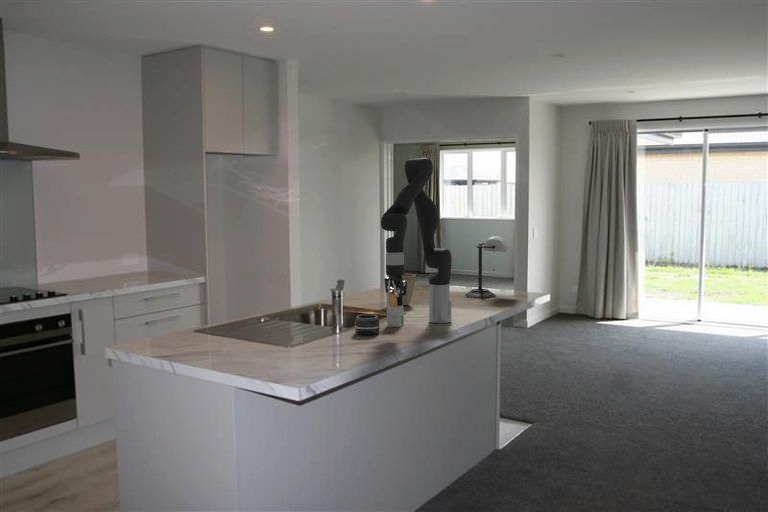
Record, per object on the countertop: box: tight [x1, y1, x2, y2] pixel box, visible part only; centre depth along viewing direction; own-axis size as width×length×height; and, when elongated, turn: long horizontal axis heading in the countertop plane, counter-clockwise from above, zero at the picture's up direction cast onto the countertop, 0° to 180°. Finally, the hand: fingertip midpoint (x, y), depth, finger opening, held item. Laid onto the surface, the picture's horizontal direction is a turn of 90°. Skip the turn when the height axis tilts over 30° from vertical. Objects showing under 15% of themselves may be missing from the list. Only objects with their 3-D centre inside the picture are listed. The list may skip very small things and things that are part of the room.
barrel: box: [354, 314, 380, 337], centre depth 272 cm, size 10×10×7 cm
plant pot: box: [386, 273, 417, 306], centre depth 343 cm, size 15×15×16 cm
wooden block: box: [390, 293, 402, 307], centre depth 266 cm, size 5×6×5 cm
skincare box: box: [385, 291, 405, 328], centre depth 289 cm, size 8×7×16 cm
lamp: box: [464, 235, 510, 299], centre depth 370 cm, size 26×24×34 cm
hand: (395, 304), depth 266 cm, fingers closed on wooden block, 5 cm apart
